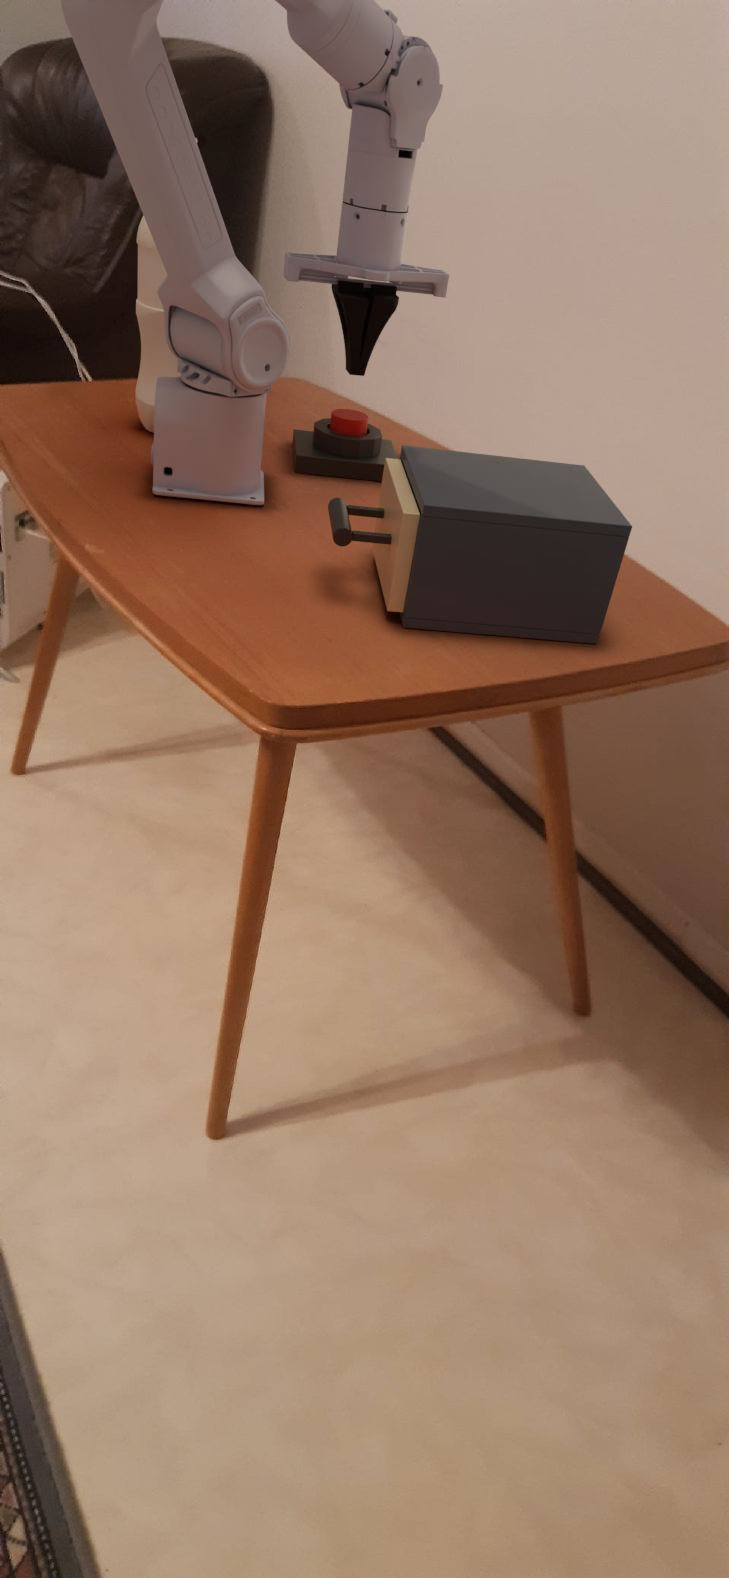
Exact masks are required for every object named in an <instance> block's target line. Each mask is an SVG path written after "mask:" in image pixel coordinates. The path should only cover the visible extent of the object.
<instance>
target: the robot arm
mask: <svg viewBox="0 0 729 1578" xmlns="http://www.w3.org/2000/svg"><path fill="white" fill-rule="evenodd" d="M274 1H275V2H276V3H278V4H279V6H281V7H282V8H283V9H285V11H286V24H287V31H288V34H289V36H290V38H291V40H292V41H293V43H294V44H295V45H297V46H298V47H299V48H300V49H301V50H302V51H303V52H305V54H307V56H309V57H310V58H311V59H312V60H313V61H314V62H315V63H316V64H317V65H318V66H319V67H321V68H322V70H324V71H325V72H326V74H328V75H329V76H330V77H332V78H333V79H334V80H335V81H336V82H337V83H338V85H339V91H340V95H341V98H342V101H343V103H344V105H345V107H346V108H347V109H348V110H351V118H350V127H349V136H348V146H347V153H346V154H347V155H346V165H345V172H344V173H345V175H344V181H343V191H342V192H343V193H342V202H341V212H340V220H339V230H338V239H337V248H336V255H332V254H331V255H330V254H315V253H314V254H312V253H311V254H310V253H296V252H295V253H294V252H285V253H284V254H285V255H284V263H283V275H282V276H283V278H284V279H285V280H286V281H287V282H295V283H298V282H299V281H300V282H311V283H317V284H319V283H321V284H328V285H331V291H332V296H333V299H334V303H335V306H336V309H337V313H338V316H339V320H340V325H341V330H342V336H343V344H344V354H345V371H346V372H347V373H348V374H349V375H350V376H358V377H365V375H366V371H367V368H368V365H369V362H370V358H371V357H372V354H373V351H374V349H375V347H376V344H377V342H378V340H379V338H380V336H381V334H382V332H383V330H384V329H385V326H386V325H387V324H388V322H389V320H390V319H391V317H392V316H393V314H394V313H395V312H396V310H397V308H398V305H399V301H400V297H399V296H398V295H397V292H402V293H403V292H404V293H414V294H420V295H421V294H423V295H430V296H431V295H432V296H434V297H436V298H446V297H447V291H448V286H449V285H448V284H449V280H450V274H449V273H448V272H446V271H445V270H443V269H437V268H429V267H423V266H418V265H411V264H405V263H402V262H403V261H402V260H403V253H404V247H405V241H406V231H407V224H408V219H409V212H410V211H409V210H410V203H411V197H412V189H413V182H414V175H415V169H416V162H417V161H416V160H417V156H418V155H417V154H418V150H420V149H421V147H422V143H424V142H425V138H426V132H427V126H428V123H429V122H430V119H431V117H432V116H433V114H434V113H435V112H436V109H437V107H438V105H439V103H440V100H441V97H442V93H443V88H444V85H443V84H442V83H440V82H441V81H440V79H441V77H440V65H439V62H438V60H437V57H436V55H435V53H434V51H433V50H432V47H431V46H430V45H429V43H428V42H427V41H426V40H424V39H423V38H422V37H419V36H412V35H404V34H403V32H402V29H401V28H400V27H399V25H398V24H397V23H398V16H397V15H395V13H394V12H393V11H392V10H390V9H383V8H382V7H381V6H380V5H379V4H378V3H377V2H376V1H375V0H274ZM163 2H164V0H60V3H61V4H60V5H61V10H62V13H63V17H64V20H65V24H66V26H67V29H68V31H69V34H70V36H71V39H72V41H73V43H74V46H75V49H76V52H77V53H78V57H79V59H80V61H81V63H82V66H83V68H84V71H85V73H86V75H87V79H88V81H89V83H90V86H91V88H92V90H93V94H94V96H95V98H96V101H97V103H98V105H99V108H100V110H101V113H102V115H103V118H104V120H105V123H106V126H107V128H108V131H109V133H110V136H111V138H112V140H113V143H114V145H115V148H116V151H117V153H118V156H119V158H120V160H121V163H122V165H123V168H124V170H125V173H126V175H127V177H128V180H129V182H130V185H131V188H132V190H133V192H134V195H135V198H136V200H137V202H138V205H139V208H140V210H141V212H142V216H143V215H144V218H145V220H146V223H147V225H148V228H149V230H150V232H151V235H152V237H153V240H154V242H155V245H156V247H157V250H158V252H159V255H160V257H161V260H162V262H163V265H164V267H165V270H166V272H167V276H166V277H165V279H164V280H163V282H162V283H161V285H160V287H159V289H158V291H157V292H158V296H159V298H160V300H161V303H162V306H163V310H164V331H165V338H166V341H167V344H168V346H169V349H170V350H171V352H172V353H173V354H174V355H175V356H176V358H178V369H177V372H178V373H180V374H181V377H158V378H157V383H156V393H155V410H154V433H153V443H151V447H150V449H151V451H150V465H151V466H153V467H152V468H153V469H152V488H151V491H152V494H153V495H156V496H162V497H174V498H182V499H183V498H184V499H191V500H202V501H214V502H222V503H233V504H241V505H242V504H243V505H254V506H264V504H265V475H264V474H265V472H264V471H263V470H261V469H262V459H263V458H262V457H263V447H264V446H263V445H264V434H265V432H264V431H265V419H266V408H267V407H266V406H267V394H272V392H273V386H274V385H275V384H276V383H277V382H278V381H279V380H280V378H281V377H282V375H283V373H284V372H285V369H286V367H287V365H288V362H289V357H290V352H291V339H290V333H289V330H288V327H287V325H286V323H285V322H284V320H283V319H282V317H280V315H279V314H278V313H276V312H275V311H274V310H273V308H272V307H271V305H270V304H269V302H268V299H267V296H266V292H265V289H264V288H263V286H261V284H260V283H259V281H257V280H256V278H255V277H254V276H253V275H252V274H251V272H250V271H248V269H247V268H246V267H245V266H244V264H243V263H242V262H241V261H240V260H239V259H238V258H237V256H236V254H235V250H234V247H233V245H232V242H231V239H230V236H229V233H228V230H227V227H226V225H225V221H224V218H223V216H222V212H221V209H220V207H219V204H218V201H217V198H216V195H215V193H214V189H213V186H212V184H211V179H210V177H209V175H208V172H207V168H206V165H205V163H204V159H203V157H202V154H201V151H200V148H199V146H198V142H196V139H195V138H196V137H195V133H194V131H193V128H192V125H191V121H190V119H189V117H188V113H187V110H186V108H185V105H184V102H183V99H182V96H181V93H180V90H179V87H178V84H177V81H176V78H175V75H174V72H173V69H172V66H171V64H170V61H169V57H168V55H167V51H166V48H165V46H164V44H163V40H162V37H161V35H160V32H159V29H158V25H157V24H158V23H157V19H158V16H159V13H160V11H161V8H162V5H163ZM349 277H350V278H349Z"/></svg>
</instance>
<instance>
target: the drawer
mask: <svg viewBox="0 0 729 1578" xmlns="http://www.w3.org/2000/svg"><path fill="white" fill-rule="evenodd" d="M378 499H379V500H378V505H377V507H372V506H362V505H354V504H353V505H352V504H347V503H346V501H345V500H344V499H343V498H341V497H334V498H332V499H330V500H329V502H328V504H327V511H328V516H329V523H330V529H331V535H332V541H333V542H334V544H335V545H337V546H338V547H346V546H349V545H350V544H351V543H352V542H360V543H371V544H372V545H371V546H372V547H371V549H372V553H373V558H374V561H375V565H376V570H377V574H378V577H379V582H380V586H381V591H382V595H383V599H384V603H385V607H386V611H387V612H393V613H399V612H404V607H405V601H406V595H407V590H408V584H409V578H410V572H411V566H412V561H413V555H414V549H415V543H416V538H417V532H418V526H419V520H420V514H421V511H420V508H419V505H418V502H417V500H416V497H415V494H414V496H413V493H412V490H411V487H410V484H409V482H408V479H407V476H406V473H405V470H404V468H403V465H402V462H401V460H400V458H398V459H391V458H386V459H385V465H384V471H383V478H382V482H381V486H380V491H379V498H378ZM350 516H354V517H363V518H375V525H374V532H373V531H364V530H353V529H352V526H351V522H350V521H351V520H350Z"/></svg>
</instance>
